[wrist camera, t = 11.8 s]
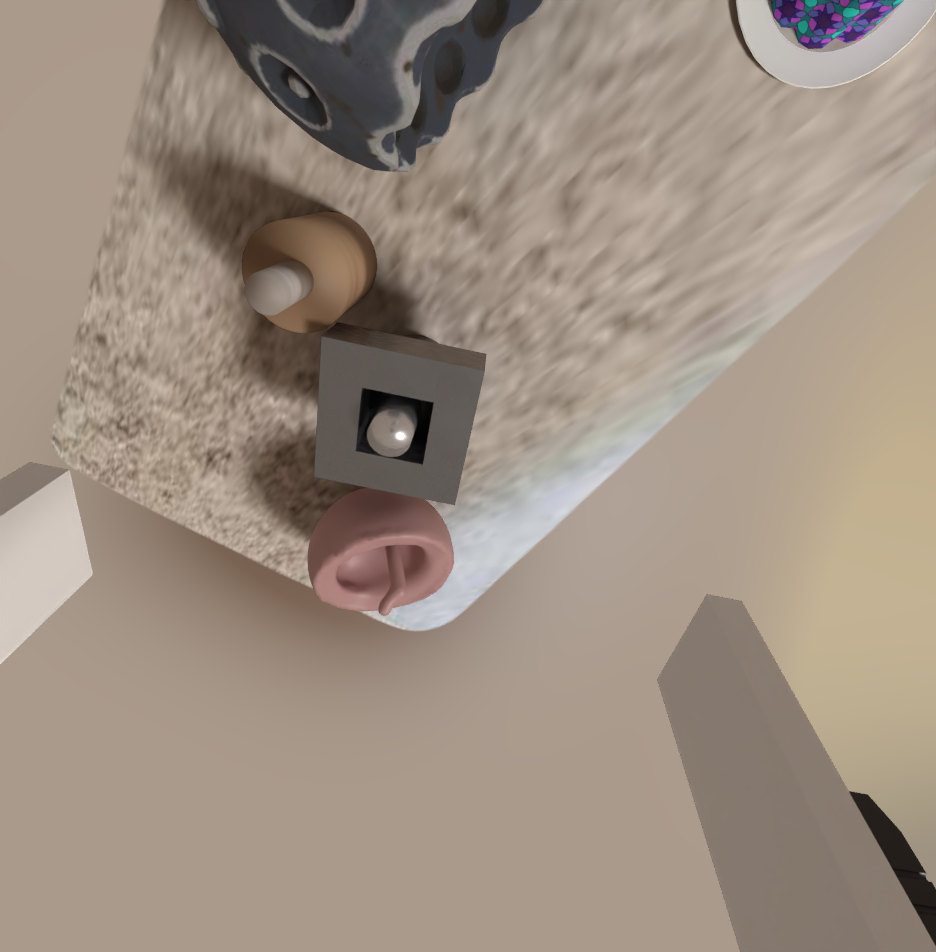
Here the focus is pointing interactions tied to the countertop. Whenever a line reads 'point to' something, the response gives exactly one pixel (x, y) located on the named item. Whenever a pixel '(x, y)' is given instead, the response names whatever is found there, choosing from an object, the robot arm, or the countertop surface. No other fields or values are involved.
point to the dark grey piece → (368, 65)
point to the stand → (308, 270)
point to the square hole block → (406, 374)
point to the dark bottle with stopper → (397, 420)
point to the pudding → (829, 36)
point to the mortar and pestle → (379, 551)
